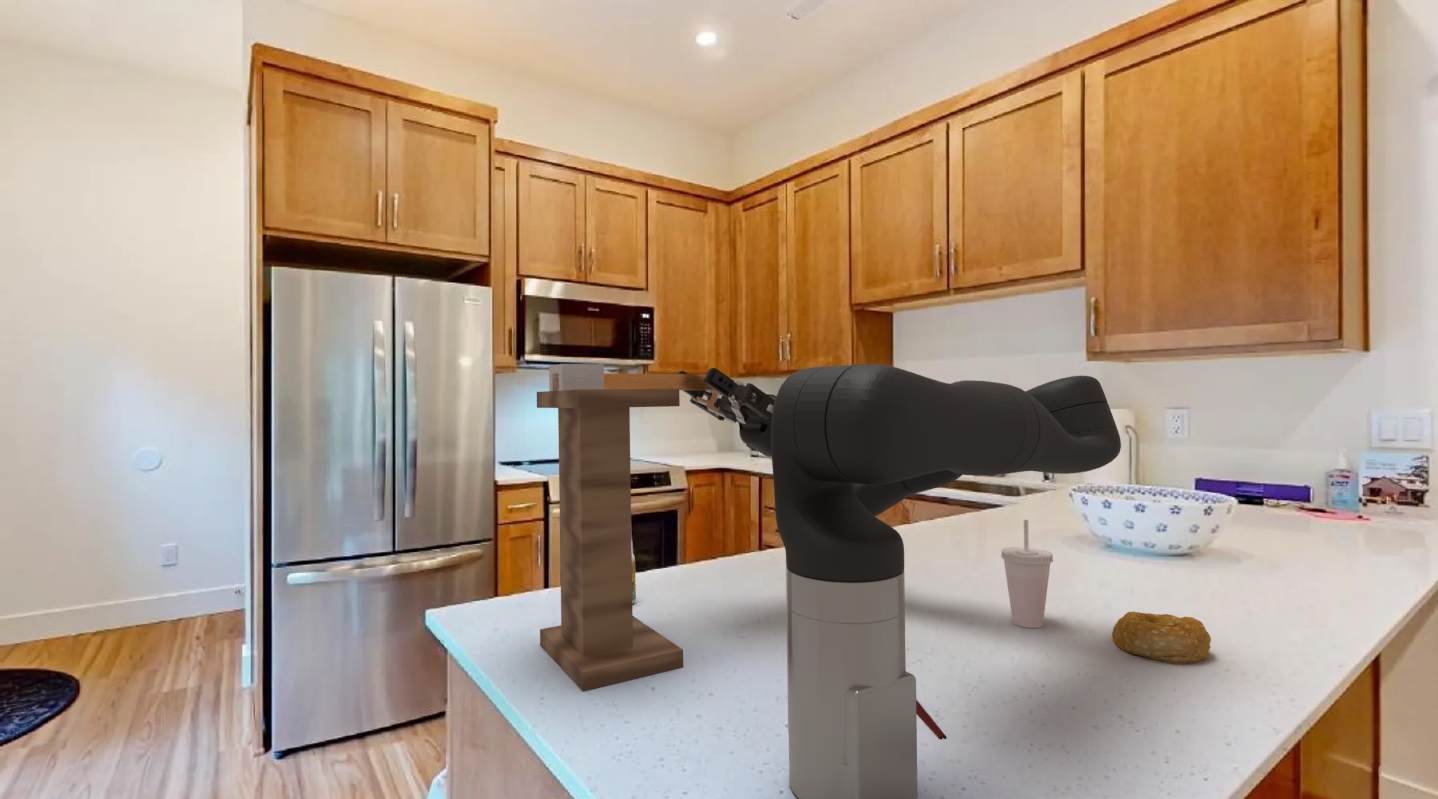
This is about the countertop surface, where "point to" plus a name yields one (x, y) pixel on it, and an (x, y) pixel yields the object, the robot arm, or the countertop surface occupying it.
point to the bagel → (1162, 637)
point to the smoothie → (1027, 581)
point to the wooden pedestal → (600, 541)
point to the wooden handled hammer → (618, 379)
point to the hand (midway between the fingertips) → (691, 375)
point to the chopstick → (929, 721)
